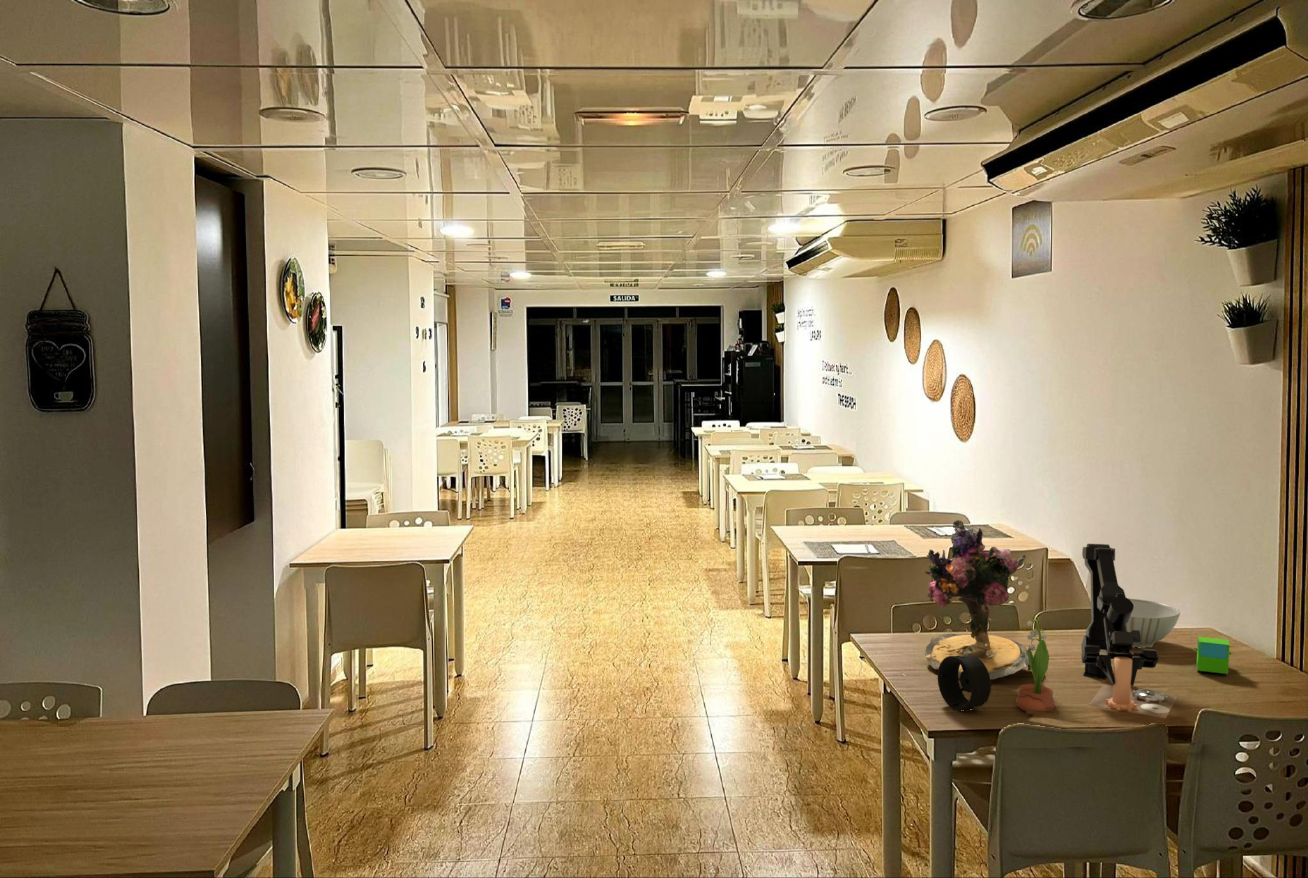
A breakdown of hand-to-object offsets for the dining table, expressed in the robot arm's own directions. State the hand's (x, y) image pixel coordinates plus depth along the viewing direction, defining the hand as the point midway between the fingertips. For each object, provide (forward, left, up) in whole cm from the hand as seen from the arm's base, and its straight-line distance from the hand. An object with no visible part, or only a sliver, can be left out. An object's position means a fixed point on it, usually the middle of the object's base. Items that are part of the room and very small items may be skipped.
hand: (1123, 684), depth 288 cm
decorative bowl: (-10, +76, -8) cm, 77 cm away
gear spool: (-1, +1, -6) cm, 7 cm away
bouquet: (-44, +18, -8) cm, 48 cm away
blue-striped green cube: (+15, +58, -8) cm, 61 cm away
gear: (+5, +13, -6) cm, 15 cm away
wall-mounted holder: (-36, -19, -8) cm, 41 cm away
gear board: (+1, +8, -8) cm, 12 cm away
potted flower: (-21, -10, -8) cm, 24 cm away
